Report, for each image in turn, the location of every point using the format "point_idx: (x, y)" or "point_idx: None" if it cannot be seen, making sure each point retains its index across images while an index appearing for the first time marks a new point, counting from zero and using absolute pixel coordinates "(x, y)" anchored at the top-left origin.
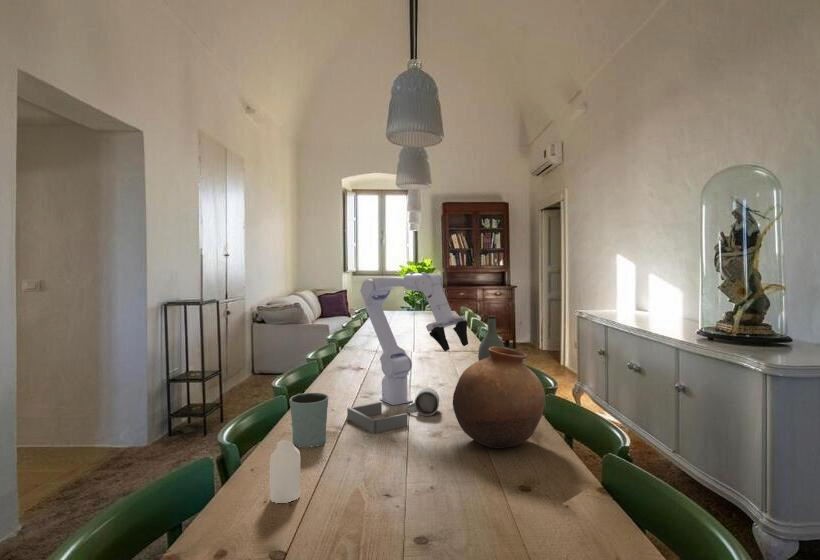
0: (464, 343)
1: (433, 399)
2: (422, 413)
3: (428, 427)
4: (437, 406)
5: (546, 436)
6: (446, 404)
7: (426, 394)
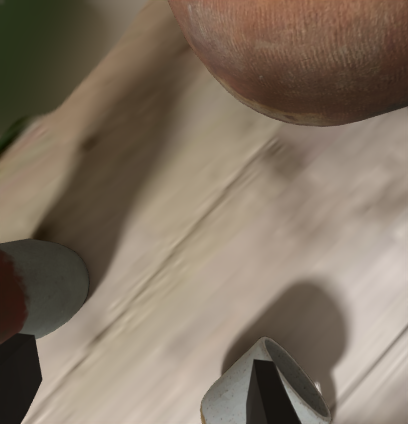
0: (29, 371)
1: None
2: (295, 378)
3: (367, 266)
4: (264, 339)
5: (169, 5)
6: (146, 404)
7: None
